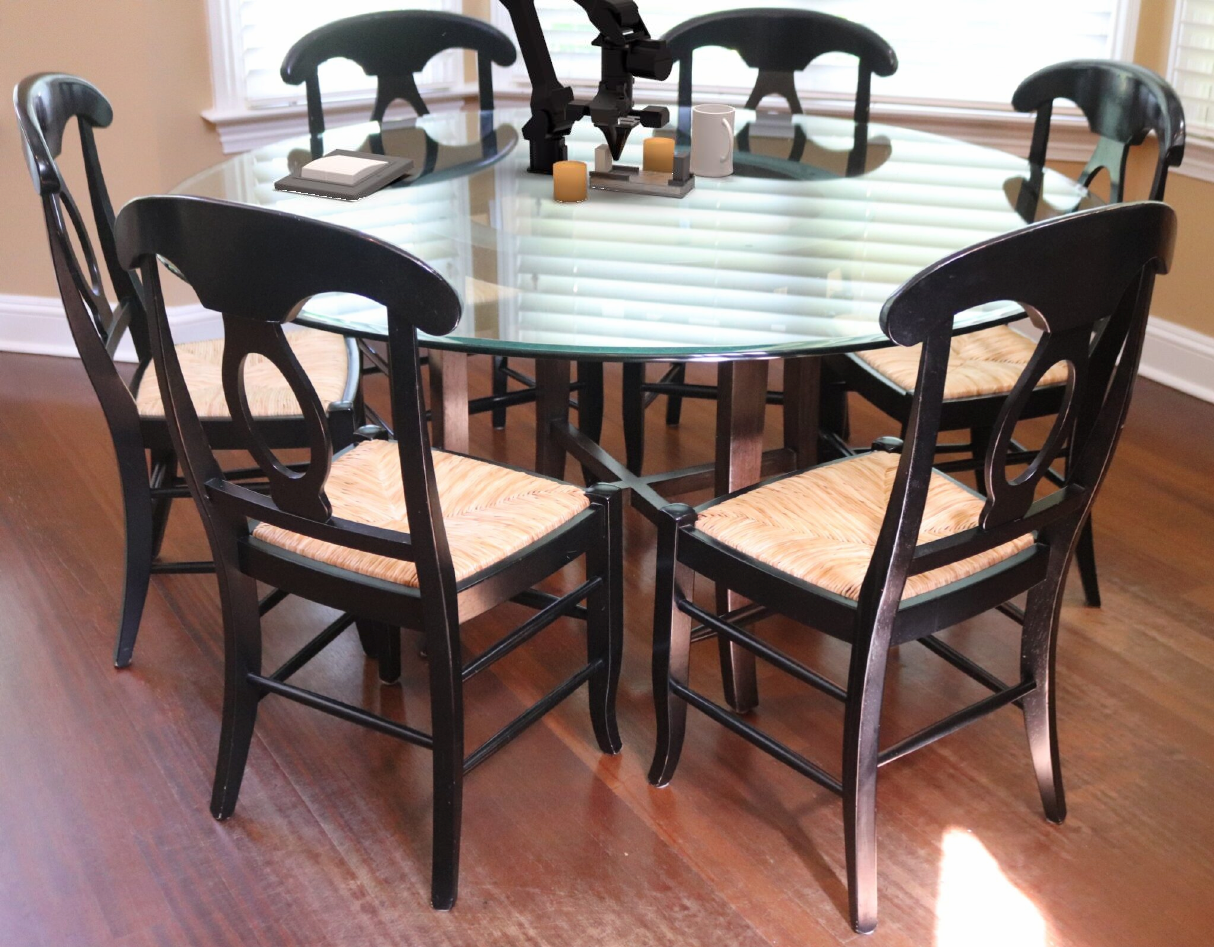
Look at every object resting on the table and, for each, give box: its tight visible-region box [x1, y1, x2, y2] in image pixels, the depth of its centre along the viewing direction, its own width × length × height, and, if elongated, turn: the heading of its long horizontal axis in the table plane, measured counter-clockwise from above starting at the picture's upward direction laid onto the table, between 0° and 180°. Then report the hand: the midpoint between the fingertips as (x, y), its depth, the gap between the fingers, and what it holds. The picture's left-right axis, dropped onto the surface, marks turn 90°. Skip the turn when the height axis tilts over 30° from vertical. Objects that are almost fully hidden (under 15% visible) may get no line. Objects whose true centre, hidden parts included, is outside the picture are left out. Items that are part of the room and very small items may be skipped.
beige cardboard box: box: [594, 143, 613, 172], centre depth 231 cm, size 2×4×4 cm, turn 160°
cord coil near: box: [552, 160, 588, 203], centre depth 224 cm, size 6×6×6 cm
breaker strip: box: [588, 163, 696, 199], centre depth 231 cm, size 18×8×3 cm, turn 70°
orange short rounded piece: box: [642, 136, 676, 173], centre depth 239 cm, size 6×6×6 cm
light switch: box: [273, 148, 415, 201], centre depth 233 cm, size 18×5×20 cm
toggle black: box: [673, 151, 691, 180], centre depth 227 cm, size 2×4×4 cm, turn 160°
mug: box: [690, 103, 736, 178], centre depth 237 cm, size 12×8×12 cm
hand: (616, 160), depth 231 cm, fingers closed
